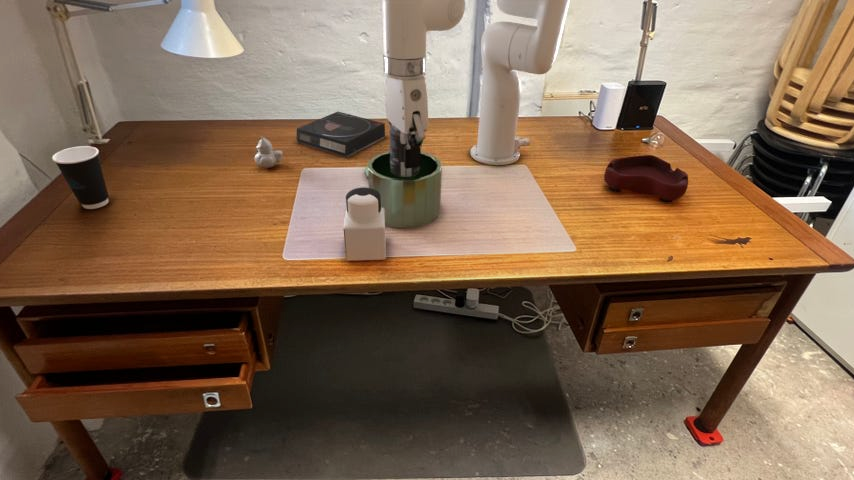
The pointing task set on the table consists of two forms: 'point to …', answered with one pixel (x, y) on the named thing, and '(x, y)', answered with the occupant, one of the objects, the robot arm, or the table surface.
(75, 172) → the dixie cup
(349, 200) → the medicine bottle
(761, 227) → the table surface
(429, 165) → the tin
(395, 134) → the pill bottle
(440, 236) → the table surface
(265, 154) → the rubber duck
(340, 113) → the portable cd player
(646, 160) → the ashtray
